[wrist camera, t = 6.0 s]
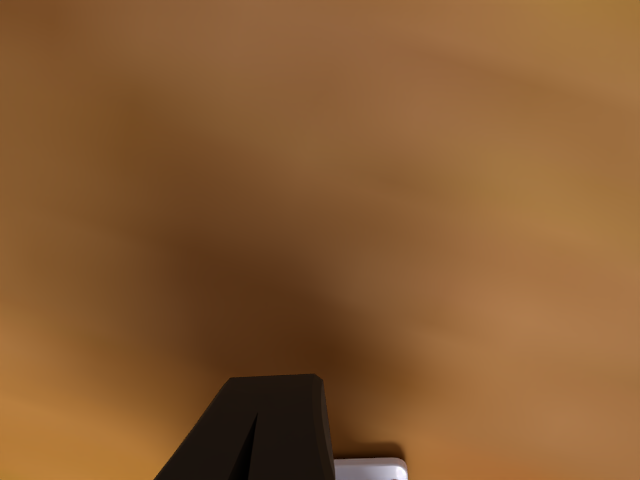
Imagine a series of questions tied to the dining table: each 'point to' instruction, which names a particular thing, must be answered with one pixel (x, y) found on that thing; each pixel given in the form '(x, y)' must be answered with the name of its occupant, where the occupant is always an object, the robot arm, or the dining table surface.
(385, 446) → the dining table surface
